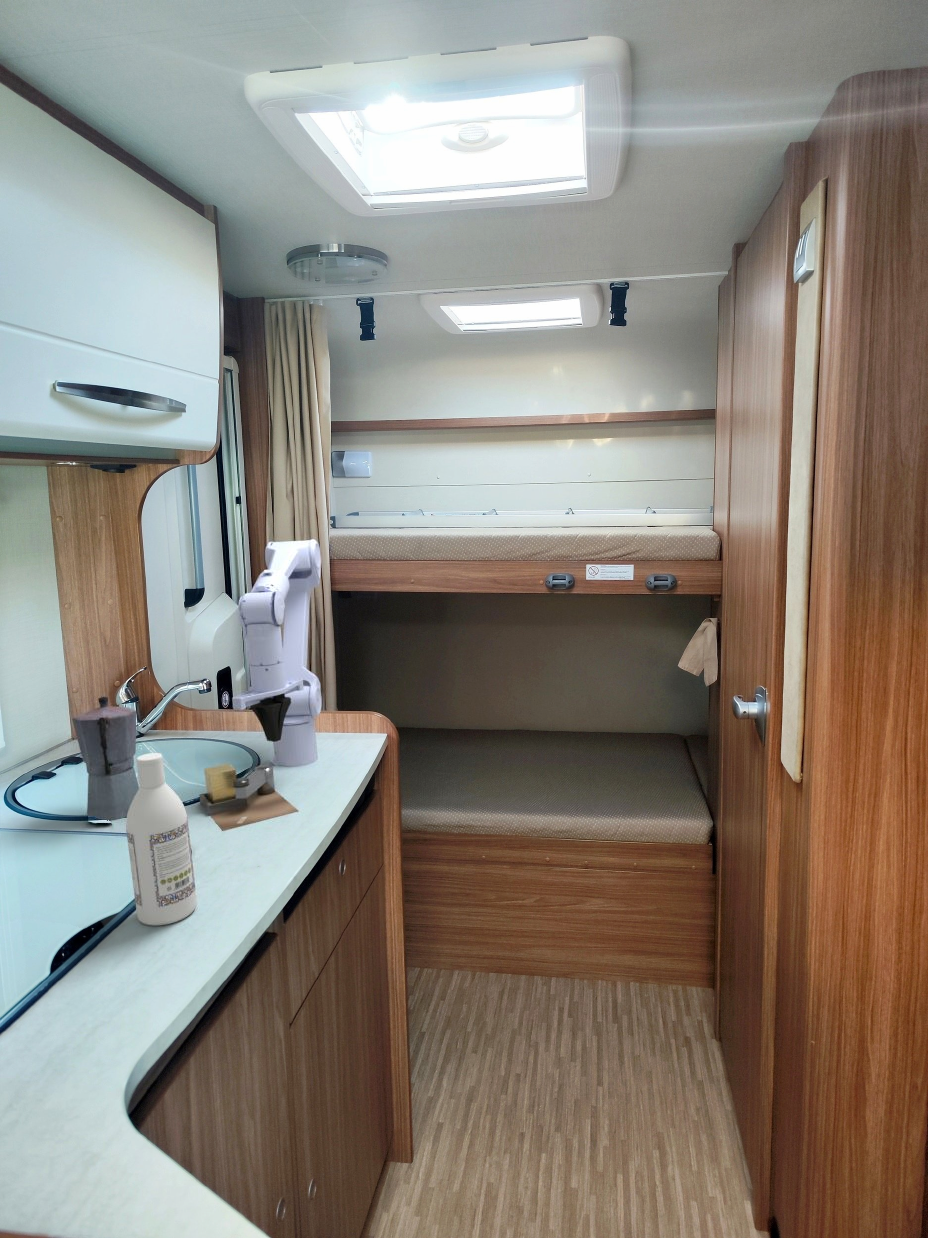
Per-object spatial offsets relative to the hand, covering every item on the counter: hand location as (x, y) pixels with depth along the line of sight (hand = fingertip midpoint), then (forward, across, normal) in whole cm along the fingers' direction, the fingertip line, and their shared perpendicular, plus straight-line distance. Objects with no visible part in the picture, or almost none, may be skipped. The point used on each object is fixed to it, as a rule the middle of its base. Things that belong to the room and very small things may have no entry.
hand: (273, 740), depth 135 cm
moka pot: (+10, +19, -17) cm, 28 cm away
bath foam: (+10, +36, +18) cm, 41 cm away
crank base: (+9, +9, +2) cm, 13 cm away
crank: (+8, +6, +1) cm, 11 cm away
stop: (+8, +10, -2) cm, 13 cm away
